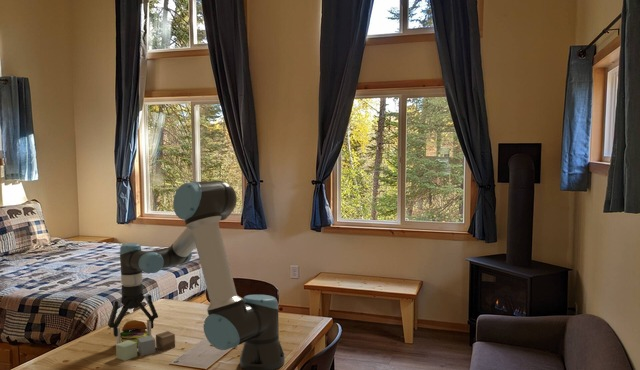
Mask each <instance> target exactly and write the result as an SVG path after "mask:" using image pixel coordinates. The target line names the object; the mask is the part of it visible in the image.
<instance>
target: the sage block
mask: <svg viewBox="0 0 640 370" xmlns="http://www.w3.org/2000/svg"><path fill="white" fill-rule="evenodd" d="M115 351H116V352H115V354H116V359H119V360H121V361H124V362H126V361H128V360H131V359H134V358H136V357H138V346H137V342H133V341H130V340H127V341H124V342H122V341H121V343H119V344H117V343H116V344H115Z"/></svg>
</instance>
